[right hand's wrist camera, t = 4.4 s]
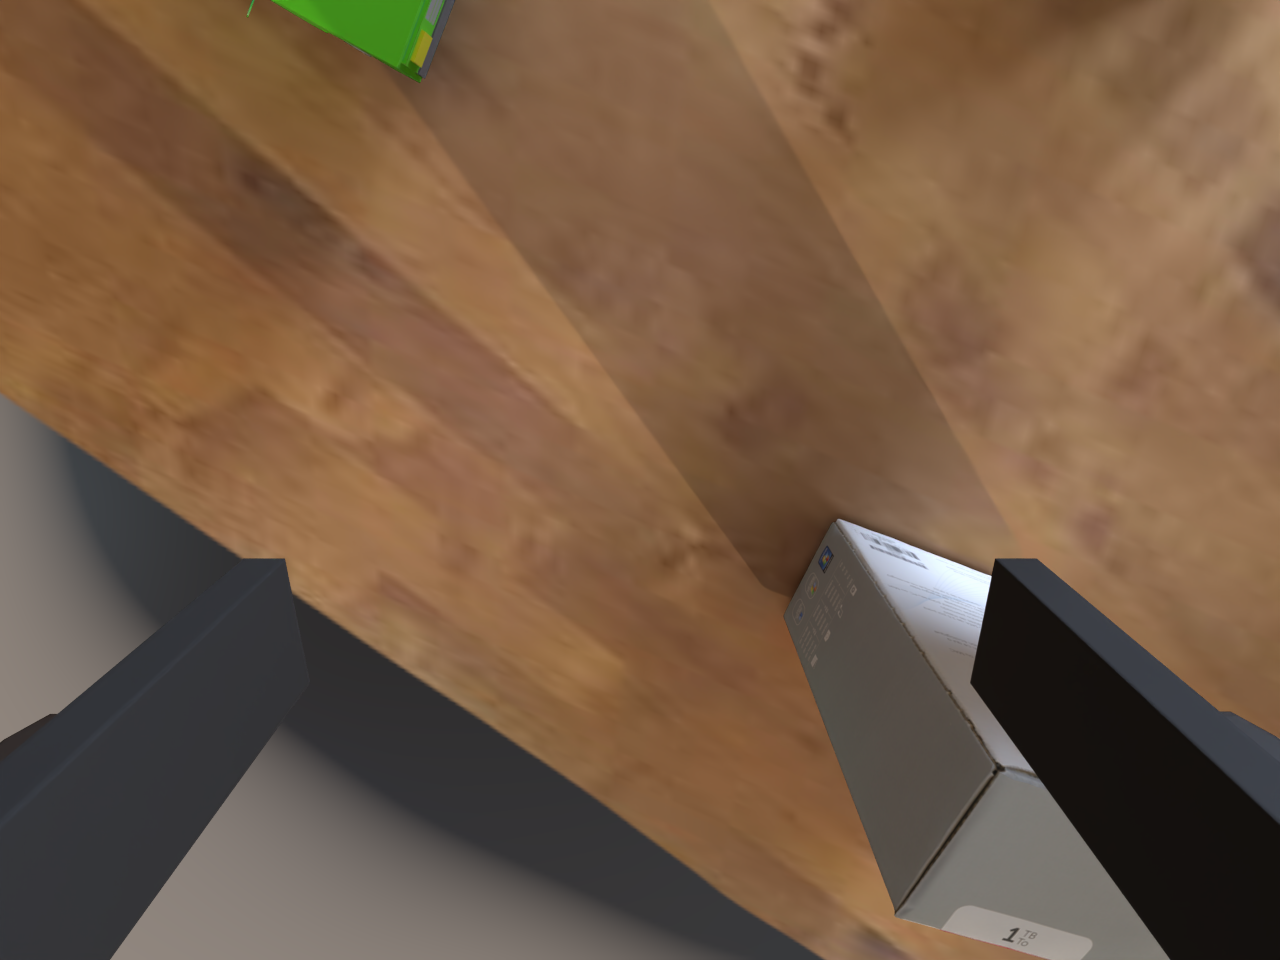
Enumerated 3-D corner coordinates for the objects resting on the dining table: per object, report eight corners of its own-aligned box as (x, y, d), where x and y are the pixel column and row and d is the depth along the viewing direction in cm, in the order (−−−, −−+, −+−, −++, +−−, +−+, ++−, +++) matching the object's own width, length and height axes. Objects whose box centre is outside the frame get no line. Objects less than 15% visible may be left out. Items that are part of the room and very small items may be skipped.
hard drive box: (778, 617, 43) (884, 917, 24) (833, 513, 41) (998, 758, 22) (991, 690, 45) (1241, 1020, 26) (1056, 596, 42) (1383, 885, 24)
